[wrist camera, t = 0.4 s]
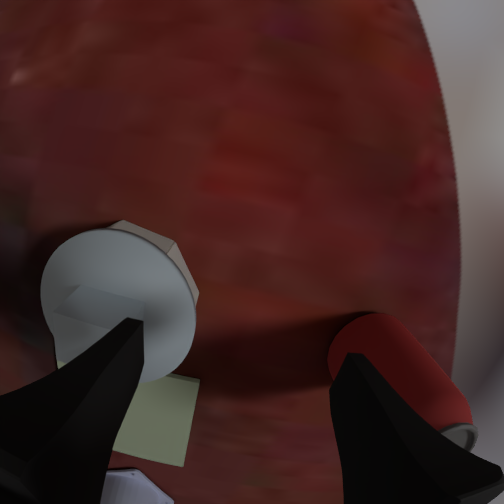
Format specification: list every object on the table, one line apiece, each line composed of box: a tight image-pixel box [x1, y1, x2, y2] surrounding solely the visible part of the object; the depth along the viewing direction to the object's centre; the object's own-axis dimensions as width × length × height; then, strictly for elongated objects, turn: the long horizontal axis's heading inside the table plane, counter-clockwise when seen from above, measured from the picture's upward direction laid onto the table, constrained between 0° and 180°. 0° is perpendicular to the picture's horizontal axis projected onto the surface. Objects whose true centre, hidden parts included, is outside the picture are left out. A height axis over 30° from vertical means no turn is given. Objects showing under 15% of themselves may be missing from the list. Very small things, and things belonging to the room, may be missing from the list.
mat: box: [57, 360, 200, 467], centre depth 24 cm, size 12×12×1 cm
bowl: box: [106, 220, 199, 307], centre depth 19 cm, size 9×9×3 cm
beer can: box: [327, 313, 478, 452], centre depth 17 cm, size 7×7×12 cm
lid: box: [41, 228, 196, 383], centre depth 16 cm, size 10×10×4 cm
